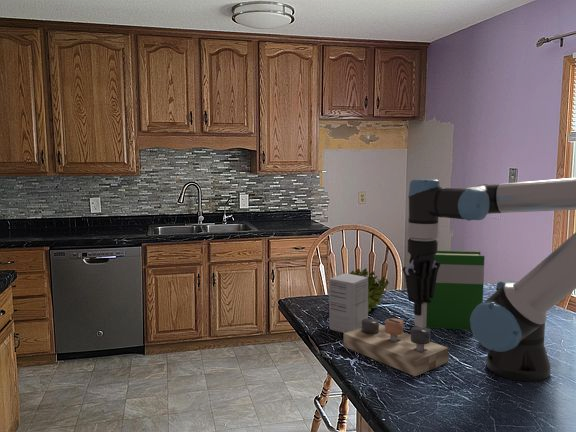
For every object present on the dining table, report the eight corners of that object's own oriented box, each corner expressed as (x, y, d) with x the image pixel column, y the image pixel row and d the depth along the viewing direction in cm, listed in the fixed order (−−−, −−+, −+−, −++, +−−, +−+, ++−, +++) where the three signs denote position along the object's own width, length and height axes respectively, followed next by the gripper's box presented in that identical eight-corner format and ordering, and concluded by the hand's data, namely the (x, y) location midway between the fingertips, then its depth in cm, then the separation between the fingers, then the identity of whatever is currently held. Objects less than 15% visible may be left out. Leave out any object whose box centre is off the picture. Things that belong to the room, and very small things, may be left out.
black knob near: (433, 355, 136) (434, 330, 135) (421, 360, 133) (422, 334, 132) (418, 350, 140) (418, 325, 139) (406, 354, 137) (407, 329, 136)
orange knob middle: (406, 345, 143) (407, 320, 142) (394, 350, 140) (395, 324, 139) (392, 340, 147) (393, 316, 146) (381, 344, 144) (381, 320, 143)
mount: (448, 362, 138) (448, 347, 137) (415, 376, 129) (415, 361, 129) (376, 335, 158) (376, 323, 158) (343, 346, 150) (343, 333, 149)
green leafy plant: (332, 289, 195) (362, 260, 197) (362, 319, 192) (392, 289, 194) (336, 285, 177) (369, 253, 179) (368, 318, 174) (401, 286, 176)
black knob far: (382, 344, 150) (382, 321, 150) (370, 348, 147) (370, 325, 147) (369, 339, 154) (369, 317, 154) (358, 343, 151) (358, 320, 150)
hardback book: (477, 322, 169) (479, 251, 166) (481, 330, 162) (484, 256, 159) (422, 320, 172) (424, 250, 169) (424, 327, 165) (426, 254, 162)
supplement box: (344, 321, 172) (344, 272, 169) (368, 327, 166) (369, 276, 164) (328, 329, 164) (328, 278, 162) (352, 335, 158) (353, 282, 156)
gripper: (426, 234, 139) (424, 317, 142) (394, 239, 132) (393, 327, 135) (450, 237, 134) (447, 324, 137) (418, 243, 126) (416, 335, 129)
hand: (420, 326), depth 136 cm, fingers closed
